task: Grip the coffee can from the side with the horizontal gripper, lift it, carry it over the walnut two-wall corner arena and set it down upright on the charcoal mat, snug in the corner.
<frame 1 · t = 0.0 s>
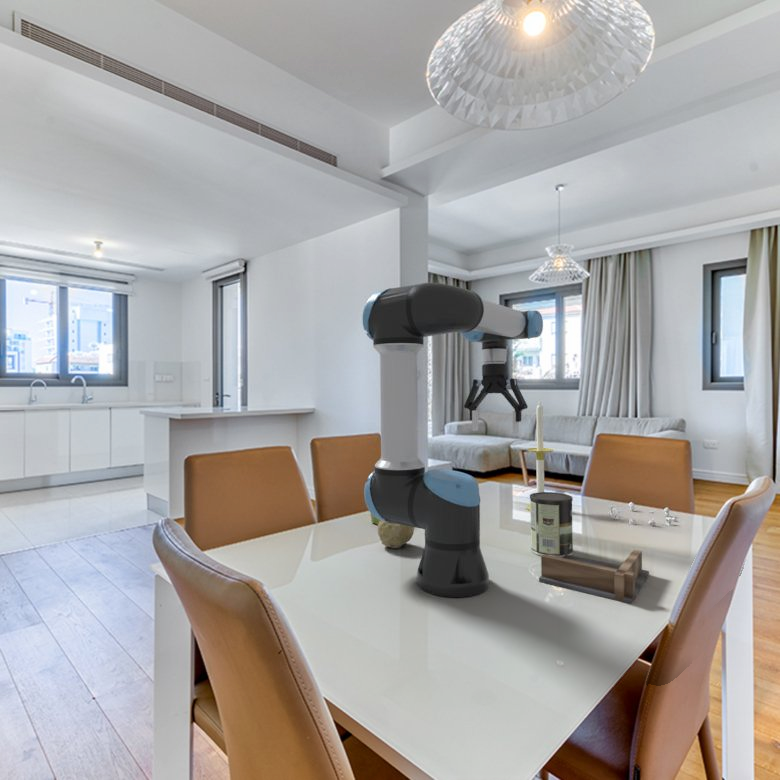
hand: (495, 431, 150), 28 cm above the table, tool pointing down, fingers open, 13 cm apart
game piece set: (641, 519, 152), on the table
plant pot: (381, 522, 151), on the table
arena: (593, 576, 105), on the table
coffee can: (551, 552, 122), on the table
coral: (393, 546, 128), on the table
candle: (540, 509, 165), on the table
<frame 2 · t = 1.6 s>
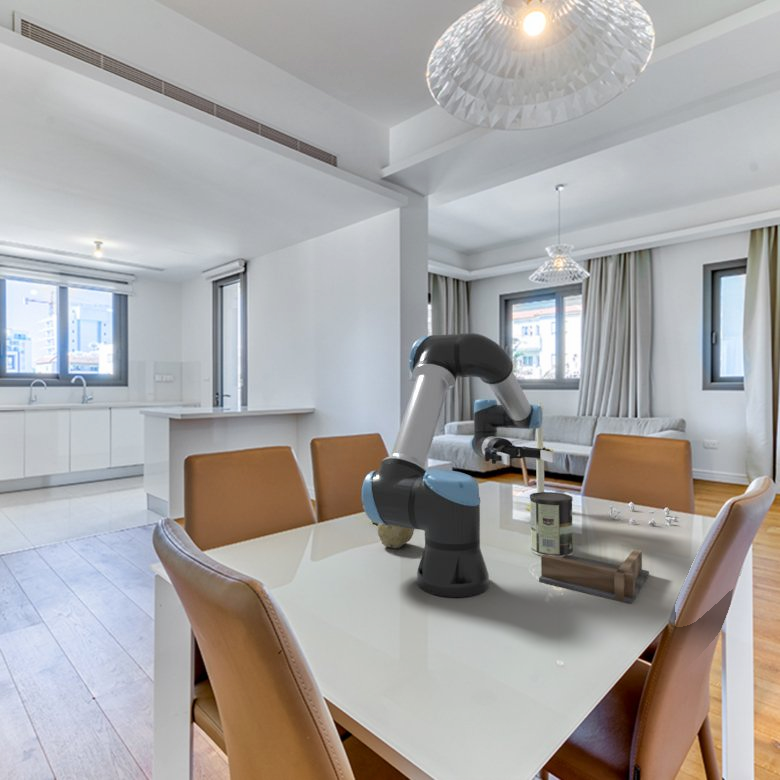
hand: (531, 458, 131), 22 cm above the table, tool horizontal, fingers open, 13 cm apart
nothing on the table moved.
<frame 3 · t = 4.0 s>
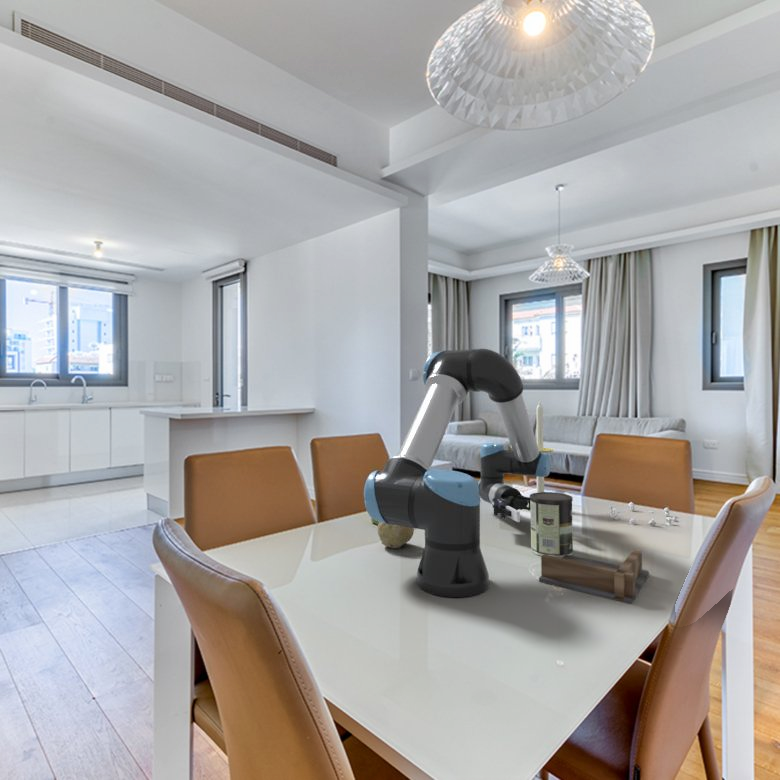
hand: (542, 515, 127), 8 cm above the table, tool horizontal, fingers open, 13 cm apart
nothing on the table moved.
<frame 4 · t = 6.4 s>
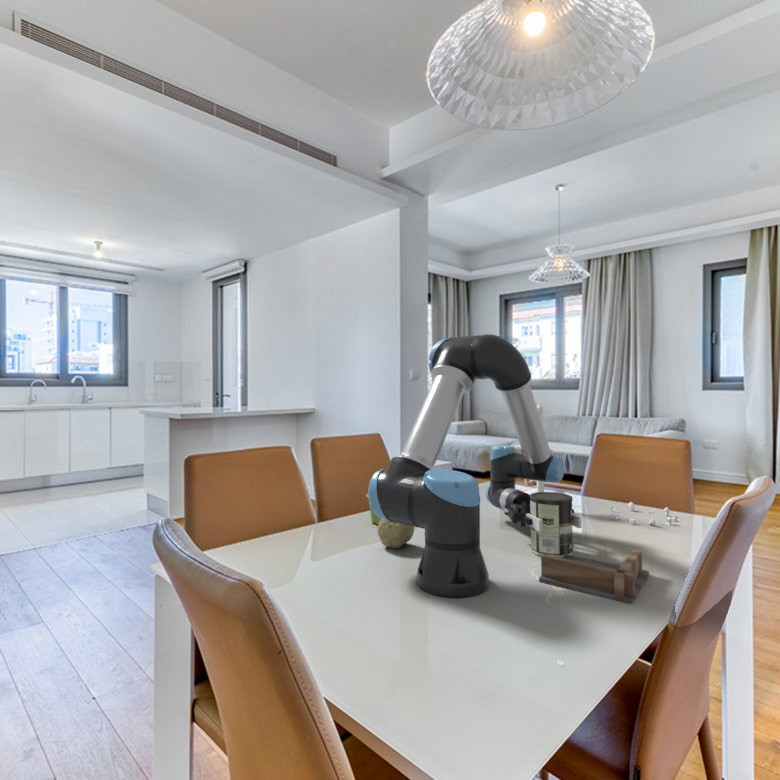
hand: (560, 524, 118), 8 cm above the table, tool horizontal, fingers closed on coffee can, 10 cm apart
coffee can: (551, 552, 122), on the table, touching gripper
everything else where it was.
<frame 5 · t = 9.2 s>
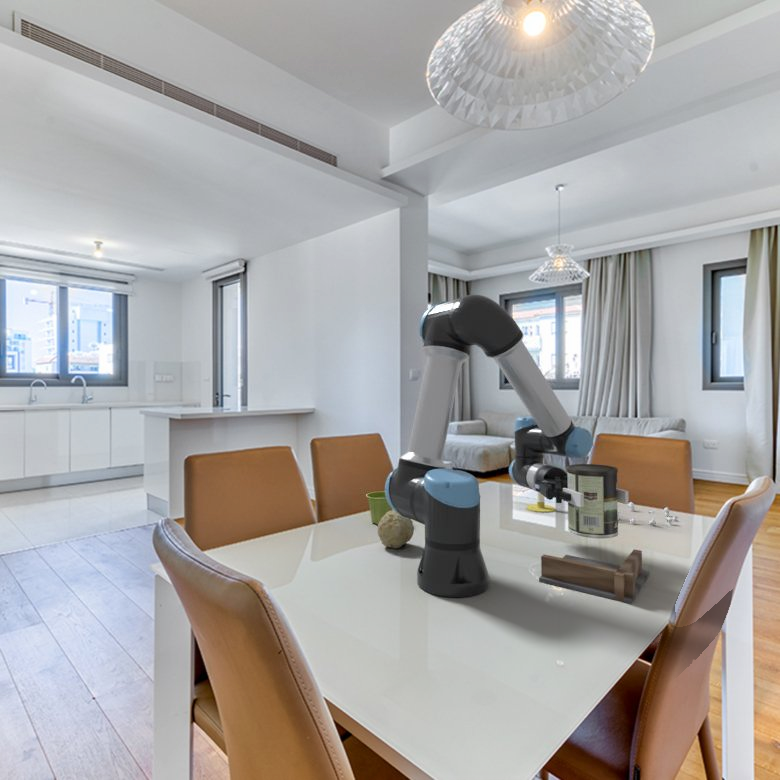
hand: (604, 499, 101), 18 cm above the table, tool horizontal, fingers closed on coffee can, 10 cm apart
coffee can: (592, 532, 105), point 10 cm above the table, touching gripper
everything else where it was.
when the fingers open (10 cm above the table, at t = 11.9 s): coffee can drops 1 cm, resting on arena.
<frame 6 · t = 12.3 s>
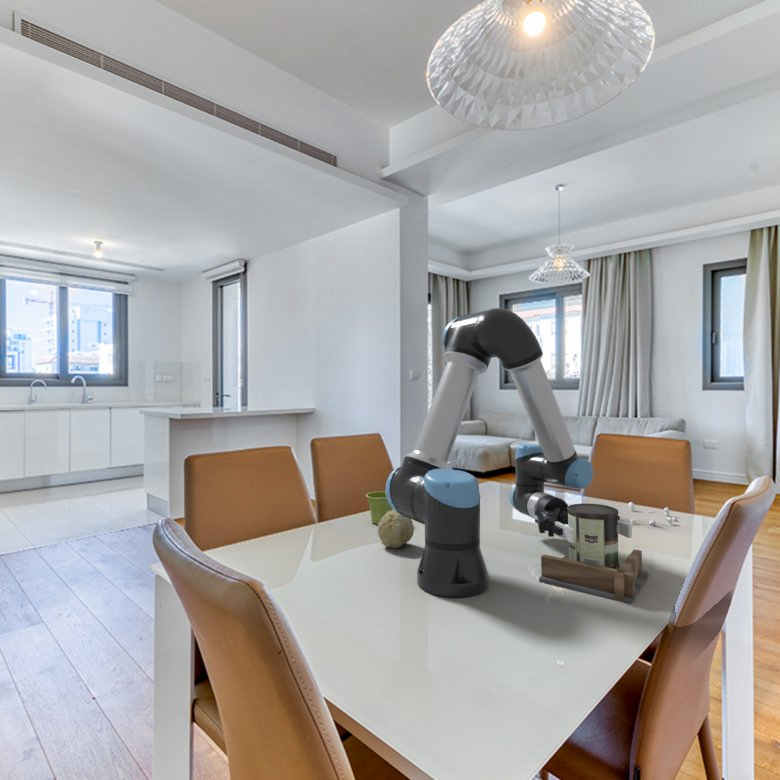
hand: (602, 534, 102), 10 cm above the table, tool horizontal, fingers open, 13 cm apart
coffee can: (593, 573, 105), point 1 cm above the table, touching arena
everything else where it was.
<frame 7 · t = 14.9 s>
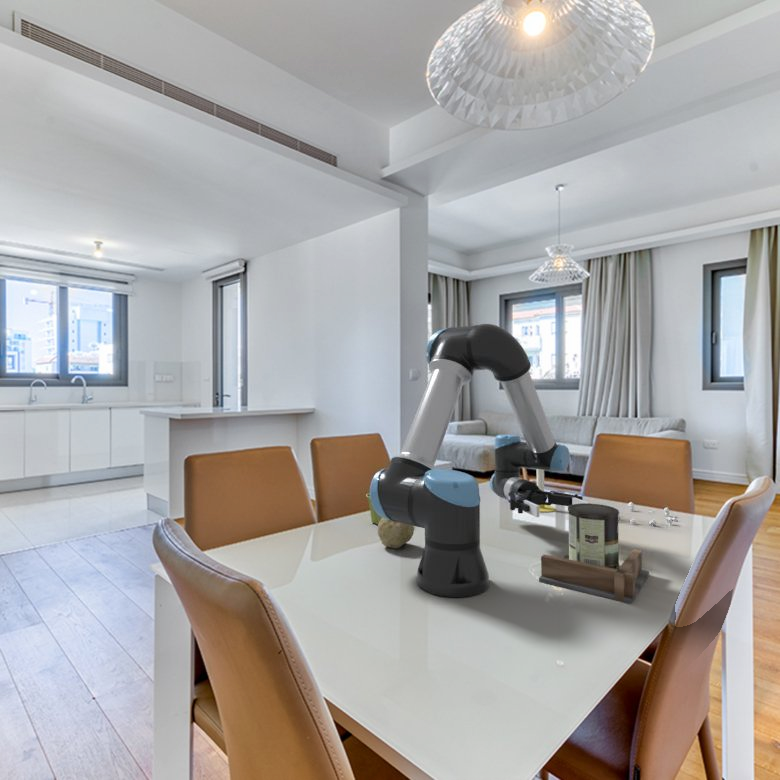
hand: (563, 510, 116), 12 cm above the table, tool horizontal, fingers open, 13 cm apart
nothing on the table moved.
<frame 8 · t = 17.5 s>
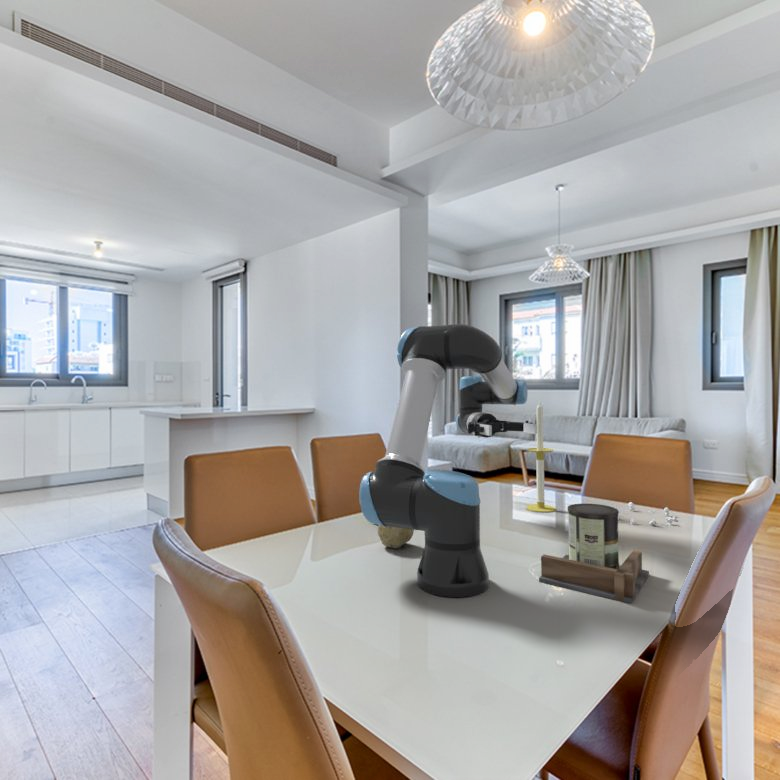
hand: (513, 430, 132), 30 cm above the table, tool horizontal, fingers open, 13 cm apart
nothing on the table moved.
at the end: coffee can 0.1 cm off-centre on the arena, point 0.6 cm above the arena's base; coffee can tilted 0°; the gripper is holding nothing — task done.
